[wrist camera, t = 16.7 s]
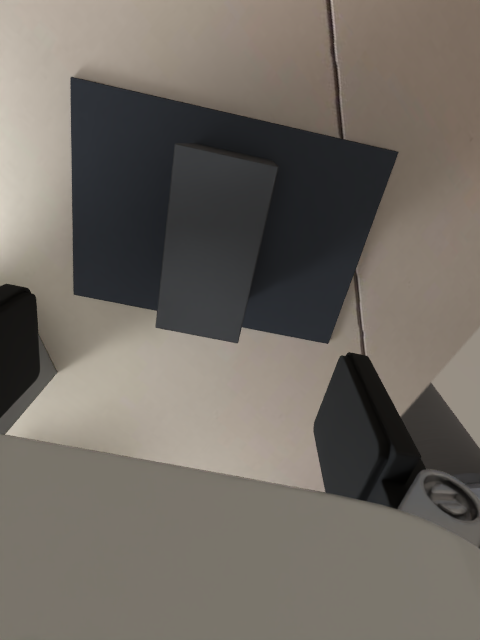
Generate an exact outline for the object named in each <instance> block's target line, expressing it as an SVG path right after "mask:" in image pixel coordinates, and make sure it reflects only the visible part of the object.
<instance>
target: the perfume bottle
mask: <svg viewBox="0 0 480 640" xmlns="http://www.w3.org/2000/svg"><path fill="white" fill-rule="evenodd" d="M38 338H39V355H40V373H39V376H38V378H37V380H36V381H35V382H34V383H33V384H32V385H31V386H30V387H29V388H28V389H27V390H26V392H25V393H24V394H23V395H22V396H21V397H20V398H19V399H18V400H17V401H16V402H15V403H14V404H13V405H12V406H11V407H10V408H9V409H8V411H7V412H6V413H5V414H4V415H3V416H2V417H1V418H0V434H4V435H5V434H6V433H7V431H8V430H9V429H10V428H11V427H12V426H13V424H14V423H15V422H16V421H17V420H18V418H19V417H20V416H21V415H22V414H23V413H24V411H25V410H26V409H27V408H28V407H29V405H30V404H31V403H32V402H33V401H34V400H35V398H36V397H37V396H38V395H39V394H40V393H41V391H42V390H43V389H44V388H45V387H46V385H47V384H48V383H49V382H50V381H51V380H52V378H53V377H54V376H55V375H56V374H57V372H56V370H55V367H54V365H53V363H52V361H51V359H50V357H49V355H48V353H47V351H46V349H45V347H44V345H43V343H42V341H41V339H40V337H39V335H38Z"/></svg>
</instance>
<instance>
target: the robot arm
mask: <svg viewBox="0 0 480 640" xmlns="http://www.w3.org/2000/svg"><path fill="white" fill-rule="evenodd" d="M39 373H40V355H39V338H38V322H37V305H36V297H35V295H34V294H31V292H30V290H29V289H28V288H25V287H20V286H15V285H10V284H4V285H2V286H0V418H1V417H2V416H3V415H4V414H5V413H6V412H7V411H8V409H9V408H10V407H11V406H12V405H13V404H14V403H15V402H16V401H17V400H18V399H19V398H20V397H21V396H22V395H23V394H24V393H25V392H26V390H27V389H28V388H29V387H30V386H31V385H32V384H33V383H34V382H35V381H36V380H37V378H38V376H39ZM314 436H315V441H316V447H317V452H318V457H319V462H320V467H321V472H322V477H323V482H324V487H325V492H326V493H325V492H319V491H314V490H309V489H303V488H298V487H292V486H287V485H282V484H276V483H271V482H265V481H260V480H255V479H249V478H244V477H238V476H233V475H228V474H222V473H216V472H211V471H205V470H200V469H194V468H188V467H183V466H177V465H172V464H166V463H161V462H155V461H149V460H144V459H138V458H133V457H127V456H121V455H116V454H110V453H105V452H99V451H94V450H88V449H82V448H77V447H71V446H66V445H60V444H55V443H49V442H43V441H38V440H32V439H27V438H21V437H16V436H10V435H4V434H0V640H480V500H479V498H478V497H477V496H476V494H475V493H474V492H473V491H472V490H471V489H470V488H469V487H468V486H466V485H465V484H464V483H462V482H461V481H460V480H458V479H457V478H455V477H453V476H451V475H449V474H448V473H445V472H442V471H439V470H434V469H426V468H425V466H424V464H423V462H422V460H421V455H420V453H419V452H418V450H417V448H416V446H415V444H414V442H413V440H412V438H411V436H410V435H409V433H408V431H407V429H406V427H405V425H404V423H403V421H402V419H401V418H400V416H399V414H398V412H397V410H396V408H395V406H394V404H393V402H392V401H391V399H390V397H389V395H388V393H387V391H386V389H385V387H384V385H383V384H382V382H381V380H380V378H379V376H378V374H377V372H376V370H375V368H374V367H373V365H372V363H371V361H370V359H369V357H368V356H365V355H360V354H355V353H350V352H349V353H347V354H346V356H340V358H339V360H338V362H337V365H336V367H335V370H334V373H333V375H332V378H331V380H330V383H329V386H328V388H327V391H326V393H325V396H324V398H323V401H322V404H321V406H320V409H319V411H318V414H317V417H316V419H315V422H314Z"/></svg>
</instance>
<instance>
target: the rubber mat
mask: <svg viewBox="0 0 480 640" xmlns="http://www.w3.org/2000/svg"><path fill="white" fill-rule="evenodd" d="M178 143H197V144H201V145H206V146H210V147H215V148H219V149H224V150H228V151H233V152H237V153H242V154H246V155H250V156H255V157H259V158H264V159H268V160H272V161H273V162H274V163H275V164H276V165H277V166H278V172H277V176H276V181H275V185H274V189H273V194H272V198H271V202H270V207H269V211H268V215H267V220H266V224H265V228H264V233H263V237H262V241H261V246H260V250H259V254H258V259H257V263H256V267H255V272H254V276H253V280H252V285H251V289H250V293H249V298H248V302H247V306H246V310H245V315H244V319H243V323H242V327H244V328H249V329H254V330H259V331H264V332H270V333H275V334H280V335H285V336H290V337H295V338H301V339H306V340H311V341H316V342H321V343H326V344H328V343H329V340H330V338H331V335H332V332H333V329H334V327H335V324H336V321H337V319H338V316H339V313H340V310H341V308H342V305H343V302H344V299H345V297H346V294H347V291H348V289H349V286H350V283H351V280H352V278H353V275H354V272H355V269H356V267H357V264H358V261H359V258H360V256H361V253H362V250H363V248H364V245H365V242H366V239H367V237H368V234H369V231H370V228H371V226H372V223H373V220H374V218H375V215H376V212H377V209H378V207H379V204H380V201H381V198H382V196H383V193H384V190H385V188H386V185H387V182H388V179H389V177H390V174H391V171H392V168H393V166H394V163H395V160H396V157H397V155H398V152H396V151H392V150H387V149H383V148H379V147H374V146H370V145H366V144H361V143H357V142H353V141H348V140H344V139H339V138H335V137H331V136H326V135H322V134H318V133H313V132H309V131H305V130H300V129H296V128H292V127H287V126H283V125H278V124H274V123H270V122H265V121H261V120H257V119H252V118H248V117H244V116H239V115H235V114H231V113H226V112H222V111H218V110H213V109H209V108H204V107H200V106H196V105H191V104H187V103H183V102H178V101H174V100H170V99H165V98H161V97H157V96H152V95H148V94H143V93H139V92H135V91H130V90H126V89H122V88H117V87H113V86H109V85H104V84H100V83H96V82H91V81H87V80H83V79H78V78H74V77H71V145H72V213H73V281H74V295H78V296H84V297H89V298H94V299H99V300H104V301H109V302H115V303H120V304H125V305H130V306H135V307H140V308H146V309H151V310H156V311H157V309H158V299H159V290H160V280H161V271H162V261H163V252H164V242H165V233H166V223H167V213H168V204H169V194H170V185H171V175H172V166H173V156H174V147H175V144H178Z"/></svg>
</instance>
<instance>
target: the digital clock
mask: <svg viewBox="0 0 480 640" xmlns="http://www.w3.org/2000/svg"><path fill="white" fill-rule="evenodd" d="M277 172H278V166H277V165H276V164H275V163H274V162H273V161H272V160H268V159H264V158H259V157H255V156H250V155H246V154H242V153H237V152H233V151H228V150H224V149H219V148H215V147H210V146H206V145H201V144H197V143H178V144H175V147H174V156H173V166H172V175H171V185H170V194H169V204H168V213H167V223H166V233H165V242H164V252H163V261H162V271H161V280H160V290H159V299H158V309H157V318H156V328H160V329H165V330H171V331H176V332H181V333H186V334H192V335H197V336H202V337H207V338H213V339H218V340H223V341H228V342H234V343H238V341H239V336H240V332H241V328H242V323H243V319H244V315H245V310H246V306H247V302H248V298H249V293H250V289H251V285H252V280H253V276H254V272H255V267H256V263H257V259H258V254H259V250H260V246H261V241H262V237H263V233H264V228H265V224H266V220H267V215H268V211H269V207H270V202H271V198H272V194H273V189H274V185H275V181H276V176H277Z"/></svg>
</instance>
